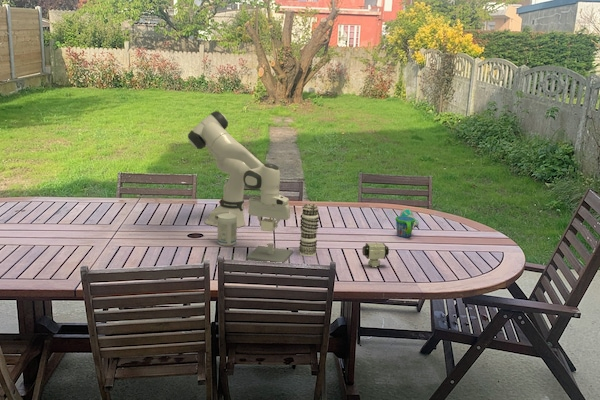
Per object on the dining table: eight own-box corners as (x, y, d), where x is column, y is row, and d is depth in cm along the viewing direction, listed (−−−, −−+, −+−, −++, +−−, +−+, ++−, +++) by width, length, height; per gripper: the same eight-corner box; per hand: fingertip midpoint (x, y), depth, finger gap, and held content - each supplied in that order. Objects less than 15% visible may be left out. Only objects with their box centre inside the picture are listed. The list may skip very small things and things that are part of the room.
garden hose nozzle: (410, 224, 347) (430, 215, 360) (386, 214, 358) (407, 205, 371) (409, 235, 350) (429, 226, 363) (385, 225, 361) (405, 216, 374)
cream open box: (260, 230, 287) (261, 220, 286) (264, 226, 293) (265, 217, 292) (272, 231, 286) (272, 222, 285) (275, 228, 292) (276, 218, 291)
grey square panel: (246, 259, 287) (247, 247, 285) (258, 247, 304) (258, 236, 302) (282, 264, 283) (283, 252, 281) (292, 252, 300) (293, 240, 298)
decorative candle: (310, 258, 294) (314, 208, 287) (294, 253, 298) (297, 205, 292) (320, 253, 301) (323, 204, 295) (304, 249, 306) (307, 201, 300)
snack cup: (391, 231, 344) (393, 213, 342) (409, 231, 345) (411, 214, 342) (396, 239, 329) (398, 222, 327) (415, 240, 330) (417, 222, 327)
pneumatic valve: (360, 264, 289) (363, 240, 286) (384, 264, 291) (386, 240, 288) (363, 268, 284) (366, 244, 281) (387, 268, 286) (390, 244, 283)
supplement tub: (232, 239, 314) (233, 212, 310) (238, 245, 306) (239, 217, 302) (214, 241, 310) (215, 213, 306) (220, 247, 301) (221, 219, 298)
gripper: (246, 197, 285) (245, 225, 288) (288, 202, 280) (286, 230, 284) (251, 194, 291) (250, 221, 294) (292, 199, 286) (290, 227, 290)
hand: (268, 226), depth 289 cm, fingers closed on cream open box, 6 cm apart
